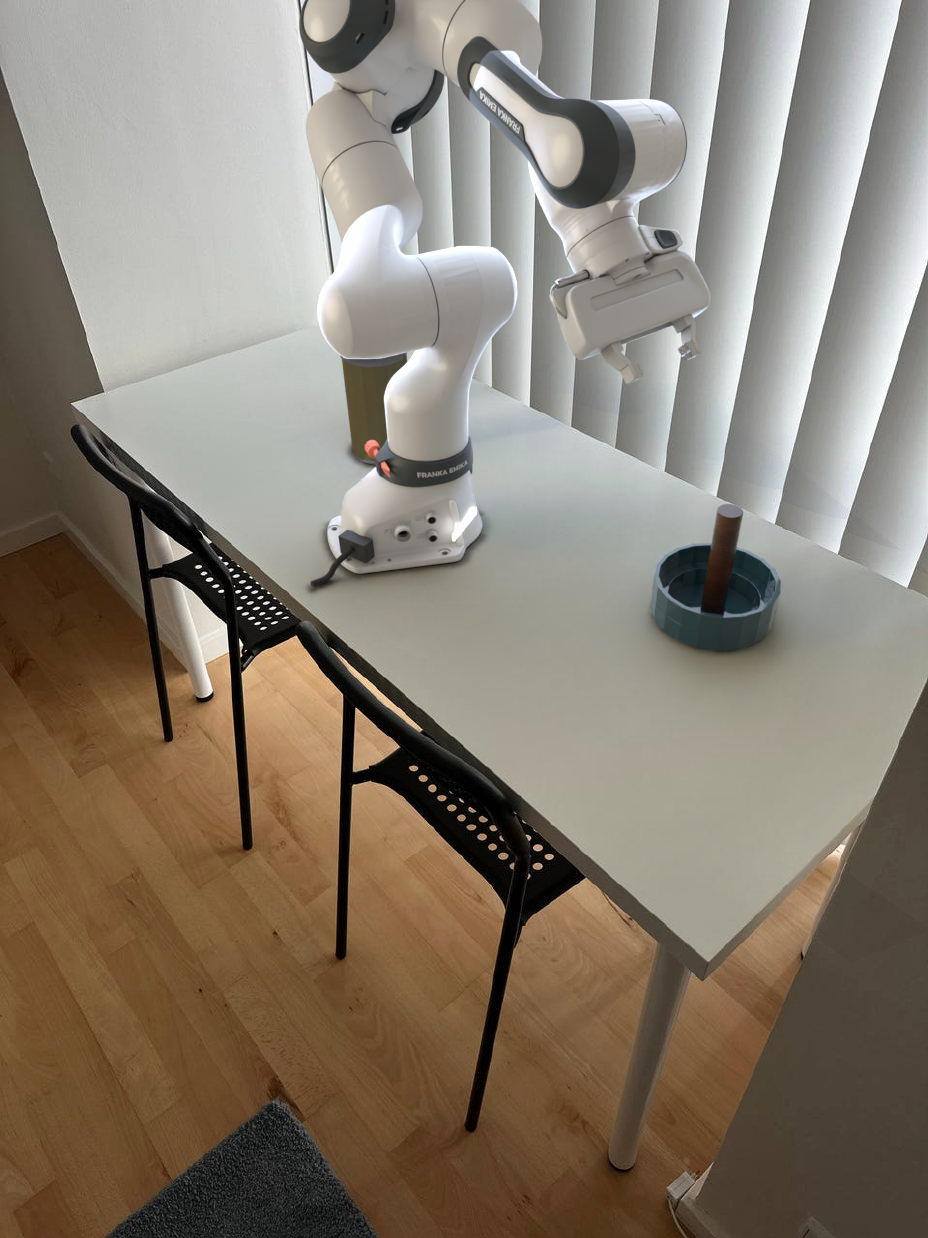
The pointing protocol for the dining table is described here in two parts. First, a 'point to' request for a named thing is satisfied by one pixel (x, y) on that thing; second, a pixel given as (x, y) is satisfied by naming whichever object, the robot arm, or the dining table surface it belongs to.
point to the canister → (368, 399)
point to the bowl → (745, 604)
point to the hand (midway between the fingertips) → (664, 368)
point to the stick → (721, 558)
